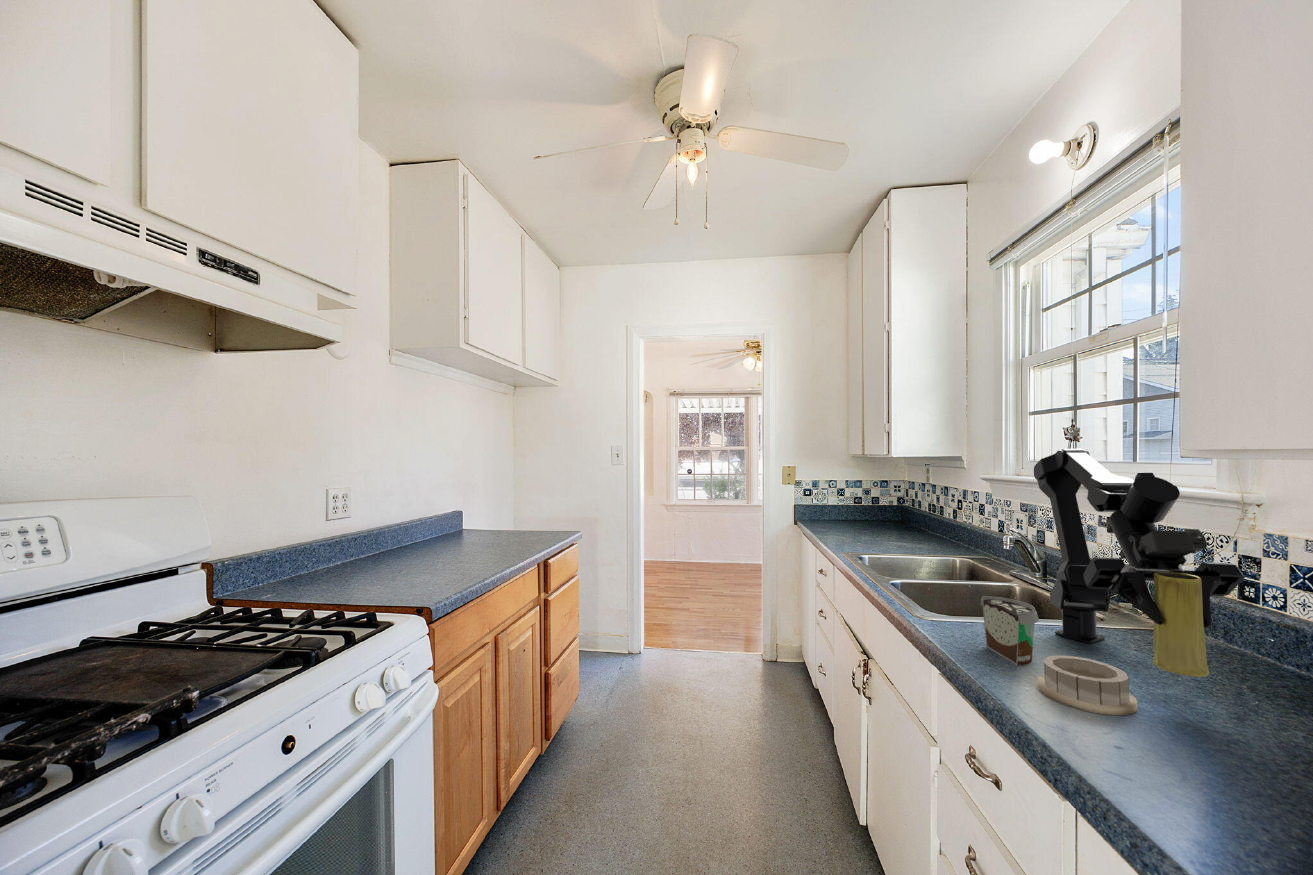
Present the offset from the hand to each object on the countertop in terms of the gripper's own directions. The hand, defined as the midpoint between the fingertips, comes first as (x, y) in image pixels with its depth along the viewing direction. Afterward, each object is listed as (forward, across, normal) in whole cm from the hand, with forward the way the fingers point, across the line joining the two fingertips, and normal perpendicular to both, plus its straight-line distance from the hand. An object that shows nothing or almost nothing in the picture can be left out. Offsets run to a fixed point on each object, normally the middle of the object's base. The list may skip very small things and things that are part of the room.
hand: (1184, 625), depth 79 cm
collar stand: (+8, -12, +11) cm, 18 cm away
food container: (-4, -16, +23) cm, 28 cm away
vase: (+4, 0, +6) cm, 7 cm away
